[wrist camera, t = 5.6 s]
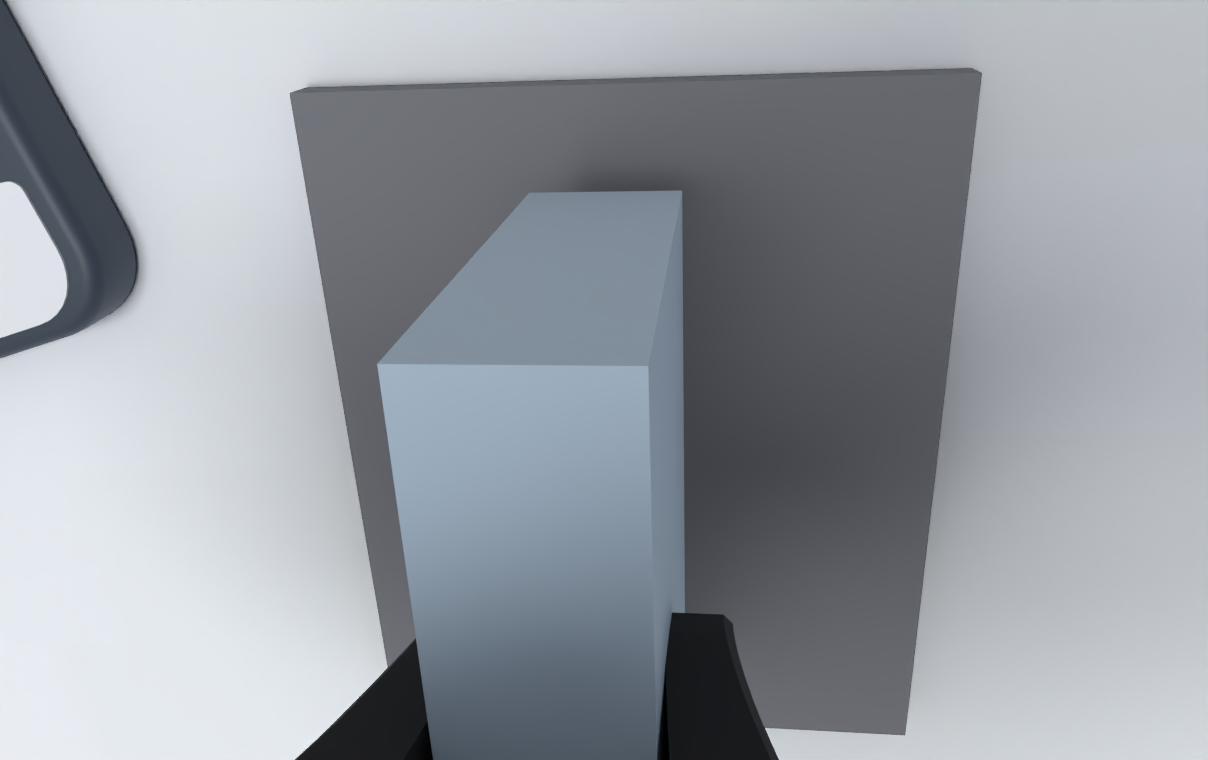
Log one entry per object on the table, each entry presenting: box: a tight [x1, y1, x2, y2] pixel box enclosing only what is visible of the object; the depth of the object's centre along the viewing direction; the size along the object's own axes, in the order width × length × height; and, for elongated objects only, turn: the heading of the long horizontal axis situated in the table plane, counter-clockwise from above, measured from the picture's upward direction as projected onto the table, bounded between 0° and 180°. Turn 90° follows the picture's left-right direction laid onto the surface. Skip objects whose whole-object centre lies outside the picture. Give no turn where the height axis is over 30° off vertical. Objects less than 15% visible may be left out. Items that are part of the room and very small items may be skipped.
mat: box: [290, 68, 982, 735], centre depth 16 cm, size 10×12×1 cm
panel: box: [377, 191, 685, 760], centre depth 11 cm, size 2×9×6 cm, turn 2°
